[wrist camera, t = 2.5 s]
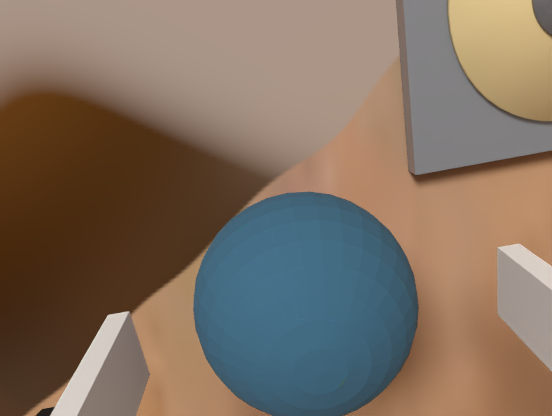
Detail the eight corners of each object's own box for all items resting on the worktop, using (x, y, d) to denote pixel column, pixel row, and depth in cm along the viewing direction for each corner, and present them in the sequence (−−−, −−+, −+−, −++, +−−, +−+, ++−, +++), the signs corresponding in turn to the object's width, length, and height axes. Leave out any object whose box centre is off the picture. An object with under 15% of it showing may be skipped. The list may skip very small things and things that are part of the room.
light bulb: (187, 184, 23) (126, 302, 12) (337, 130, 23) (426, 198, 11) (243, 313, 26) (237, 511, 14) (378, 267, 25) (484, 434, 14)
